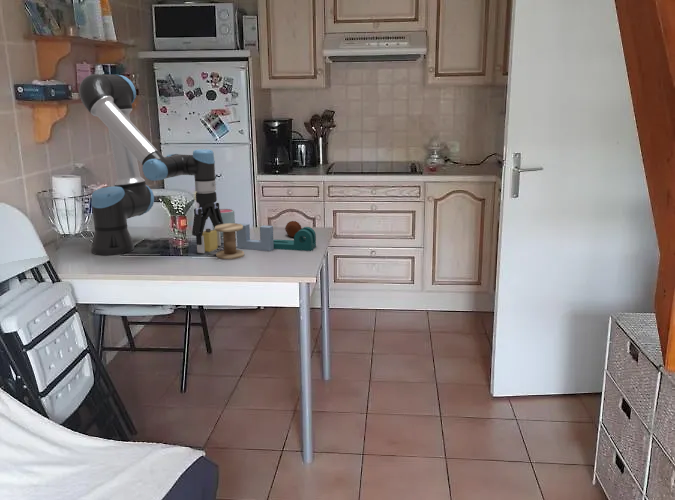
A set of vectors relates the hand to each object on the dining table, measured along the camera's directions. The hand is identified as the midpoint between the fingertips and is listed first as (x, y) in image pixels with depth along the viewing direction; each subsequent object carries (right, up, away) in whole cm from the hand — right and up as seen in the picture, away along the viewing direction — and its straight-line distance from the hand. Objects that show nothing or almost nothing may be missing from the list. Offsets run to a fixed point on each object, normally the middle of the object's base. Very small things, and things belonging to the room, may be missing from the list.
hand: (209, 249), depth 238 cm
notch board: (+17, 0, +1) cm, 17 cm away
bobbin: (+9, -2, -9) cm, 13 cm away
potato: (+30, +5, +21) cm, 37 cm away
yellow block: (0, 0, 0) cm, 0 cm away
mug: (+1, +5, +22) cm, 23 cm away
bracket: (+31, 0, +2) cm, 31 cm away
